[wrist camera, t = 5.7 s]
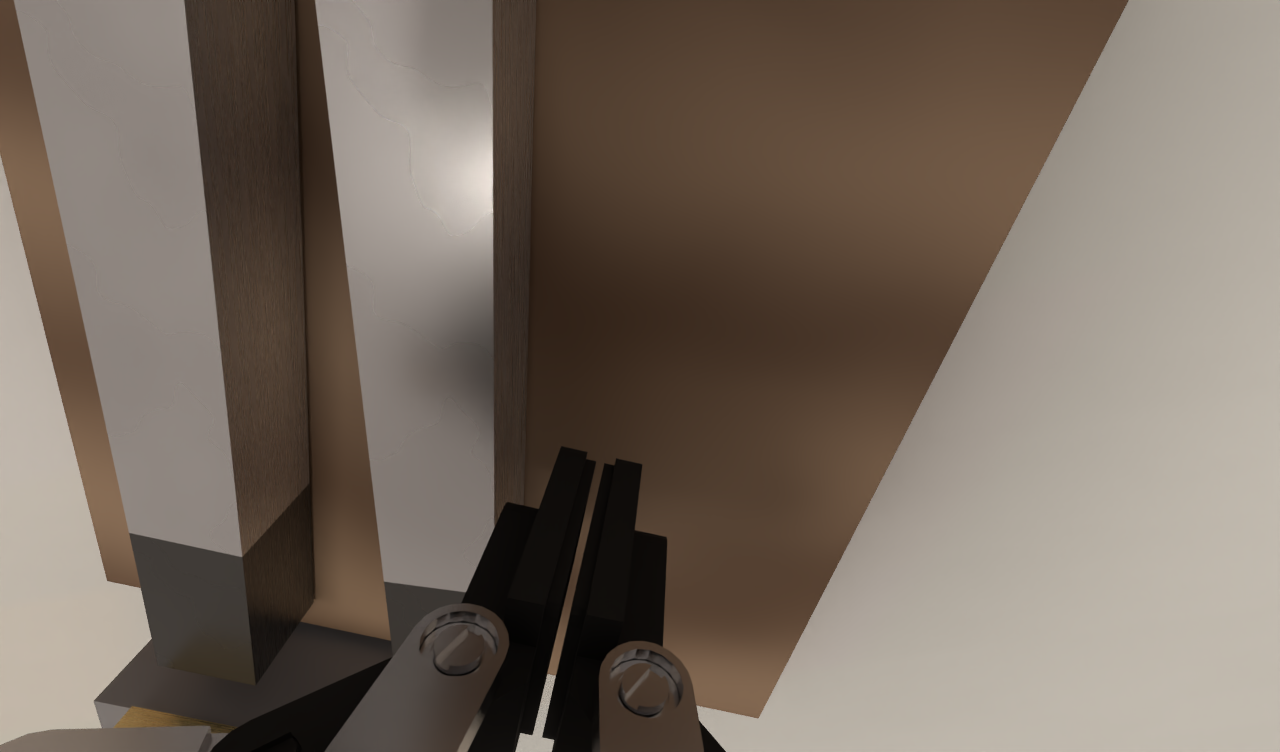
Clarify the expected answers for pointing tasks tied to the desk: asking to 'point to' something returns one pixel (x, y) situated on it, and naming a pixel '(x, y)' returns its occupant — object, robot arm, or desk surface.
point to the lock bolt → (165, 720)
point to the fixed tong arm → (190, 301)
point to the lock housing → (290, 676)
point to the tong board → (678, 282)
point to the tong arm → (435, 270)
